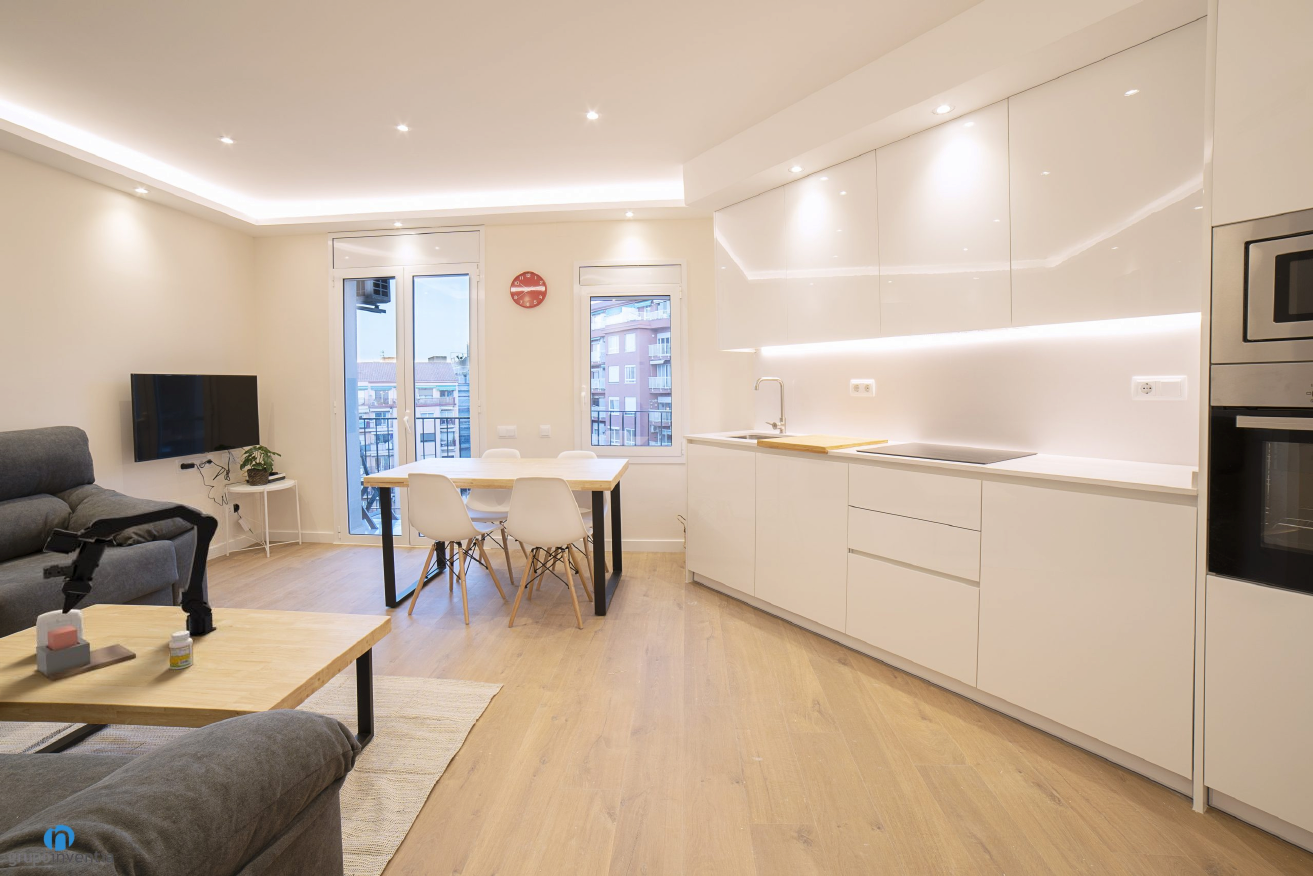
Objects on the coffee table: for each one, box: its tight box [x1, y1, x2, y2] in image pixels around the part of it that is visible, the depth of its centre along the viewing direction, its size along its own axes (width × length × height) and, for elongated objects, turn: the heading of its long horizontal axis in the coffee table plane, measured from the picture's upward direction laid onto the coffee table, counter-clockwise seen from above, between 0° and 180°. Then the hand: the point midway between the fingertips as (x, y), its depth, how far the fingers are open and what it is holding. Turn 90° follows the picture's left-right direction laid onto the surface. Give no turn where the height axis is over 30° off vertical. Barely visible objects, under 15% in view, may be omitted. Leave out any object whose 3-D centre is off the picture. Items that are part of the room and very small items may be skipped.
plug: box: [47, 626, 78, 651], centre depth 168 cm, size 5×5×6 cm
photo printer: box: [35, 608, 84, 647], centre depth 182 cm, size 10×4×12 cm, turn 123°
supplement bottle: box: [168, 630, 194, 670], centre depth 171 cm, size 5×5×10 cm
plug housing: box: [35, 637, 91, 675], centre depth 169 cm, size 9×9×6 cm
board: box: [36, 643, 137, 682], centre depth 173 cm, size 18×14×1 cm
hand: (64, 609), depth 174 cm, fingers open, 9 cm apart
